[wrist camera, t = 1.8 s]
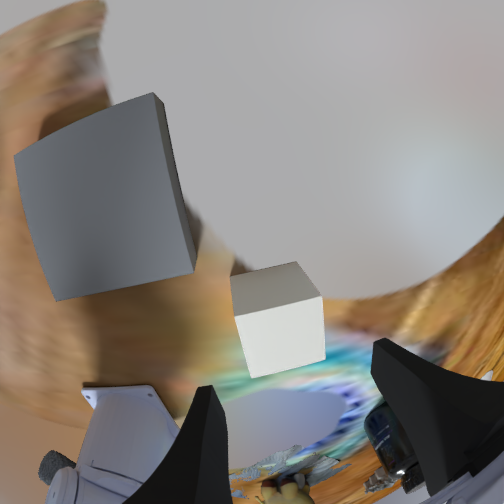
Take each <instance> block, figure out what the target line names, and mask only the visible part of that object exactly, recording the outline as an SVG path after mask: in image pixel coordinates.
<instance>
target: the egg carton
mask: <svg viewBox="0 0 504 504" xmlns="http://www.w3.org/2000/svg"><path fill="white" fill-rule="evenodd" d="M397 480H398V479H391V478H389V477H388V476H387V475H386V473H385V471H384V469H383V467H381V468H379V469H377V470H376V471H375V474H374V475H373V476H370V477H369V481H367V482H365V483H364V484H363V485H364V486H365V489H366V491H365V494H367V492H372V493H374V492H375V491H379V490H383V489H384V488H389V487H392V486H393V484H394V483H395V482H396V481H397Z"/></svg>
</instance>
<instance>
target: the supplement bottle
mask: <svg viewBox="0 0 504 504" xmlns="http://www.w3.org/2000/svg"><path fill="white" fill-rule="evenodd" d="M364 429H365V432H366V434H367V436H368V438H369V440H370V442H371V444H372V446H373V448H374V450H375V452H376V454H377V456H378V459H379V461H380V463H381V465H382V467H383V469H384V471H385V473H386V475H387V476H388V477H389V478H391V479H401V481H402V482H401V483H400V484H401V486H402V487H403V489H404V491H405V493H406V494H410V493H412V492H414V491H416V490H418V489H420V488H422V487H423V486H425V485H426V483H425V479H424V476H423V473H422V470H421V467H420V464H419V461H418V459H417V456H416V454H415V451H414V449H413V446H412V444H411V442H410V440H409V438H408V436H407V433H406V431H405V429H404V428H403V426H402V424H401V422H400V421H399V419H398V418H397V416H396V415H395V413H394V412H393V410H392V409H391V407H390V406H389V404H388V403H387V402H386V403H384V404H382V405H381V406H379V407H378V408H377V409H375V410H374V411H373V412H372V413H371V414H370V415H369V416H368V417H367V419H366V421H365V423H364Z"/></svg>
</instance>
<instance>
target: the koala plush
mask: <svg viewBox="0 0 504 504" xmlns="http://www.w3.org/2000/svg"><path fill="white" fill-rule="evenodd" d="M68 466H69V467H71V468H73V469H74V468H76V463H75V462H73V461H71V460H70V459H68V458H67V457H66V456H64V455H62V454H61V453H58V452H57V451H56V452H55V451H54V450H53V451H52V450H51V451H50V452H48V453H47V455H46V456H44V458H43V460H42V462H41V464H40V468H39V472H38V475H39V478H40V480H43V481H44V482H45V483H46V484H47V485H50V484H51V482H52V480H53V478H54V476H55V474H56V472H57V471H58V470H59V469H62V468H65V467H68Z"/></svg>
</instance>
